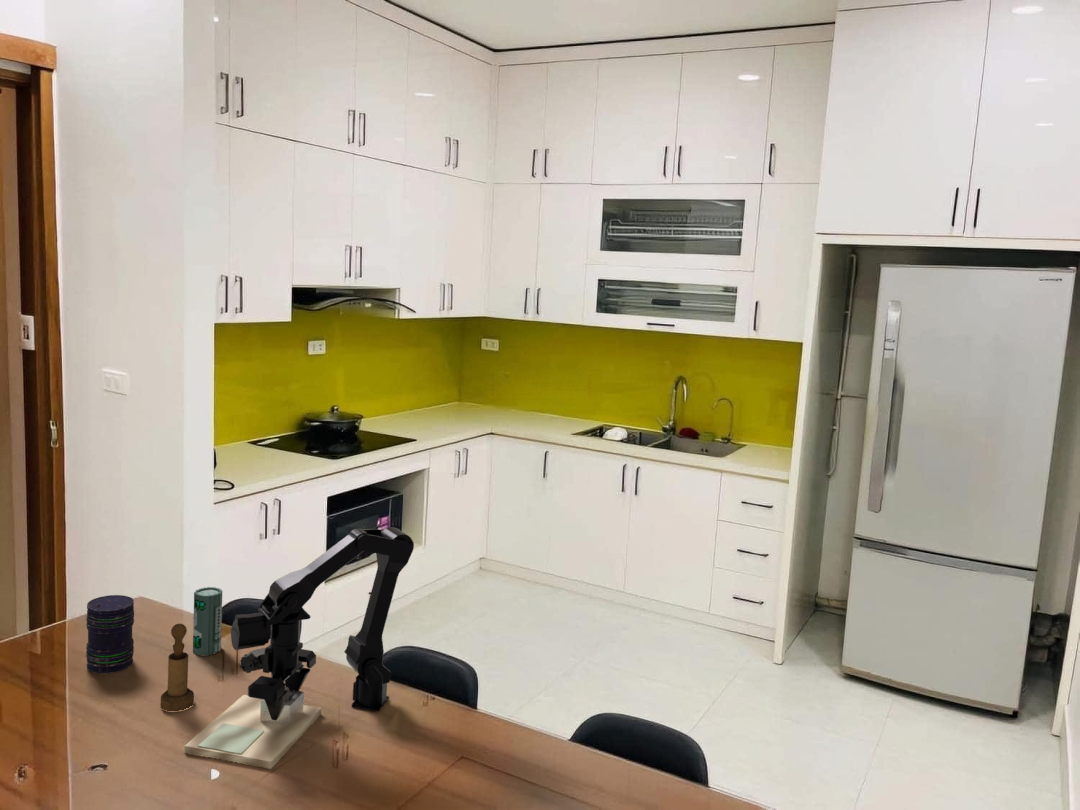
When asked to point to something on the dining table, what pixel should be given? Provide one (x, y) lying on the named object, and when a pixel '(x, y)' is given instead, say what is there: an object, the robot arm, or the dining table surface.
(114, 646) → the storage jar
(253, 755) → the board
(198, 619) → the can
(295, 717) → the collar
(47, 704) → the dining table surface
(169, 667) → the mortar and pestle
